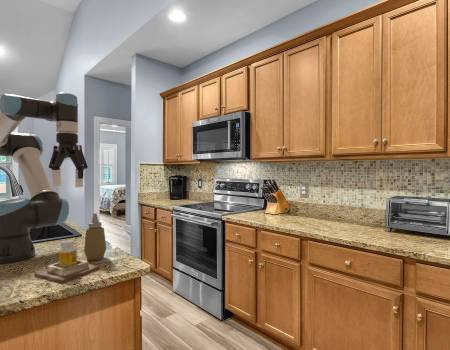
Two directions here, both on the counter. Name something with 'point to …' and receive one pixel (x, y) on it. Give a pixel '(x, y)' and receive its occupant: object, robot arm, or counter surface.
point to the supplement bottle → (67, 254)
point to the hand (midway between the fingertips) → (67, 186)
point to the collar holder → (66, 271)
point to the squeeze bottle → (95, 240)
